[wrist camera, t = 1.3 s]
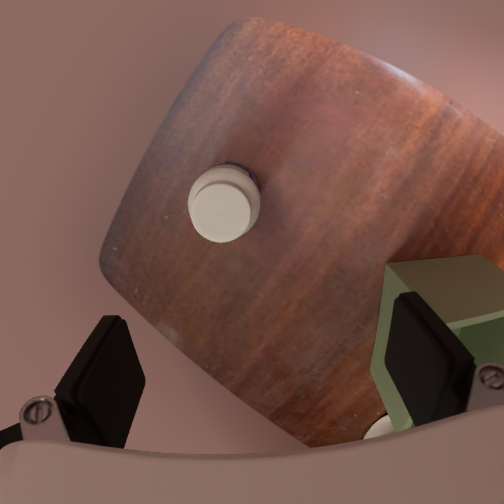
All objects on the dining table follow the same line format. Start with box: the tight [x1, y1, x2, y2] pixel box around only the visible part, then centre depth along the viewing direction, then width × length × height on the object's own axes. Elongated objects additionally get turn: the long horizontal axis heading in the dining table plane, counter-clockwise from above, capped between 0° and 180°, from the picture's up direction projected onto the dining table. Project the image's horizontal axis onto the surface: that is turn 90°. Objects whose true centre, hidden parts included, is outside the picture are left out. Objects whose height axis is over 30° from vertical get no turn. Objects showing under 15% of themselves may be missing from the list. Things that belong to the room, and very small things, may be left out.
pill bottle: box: [188, 161, 261, 242], centre depth 25 cm, size 5×5×10 cm
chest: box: [369, 254, 504, 432], centre depth 29 cm, size 16×14×12 cm
